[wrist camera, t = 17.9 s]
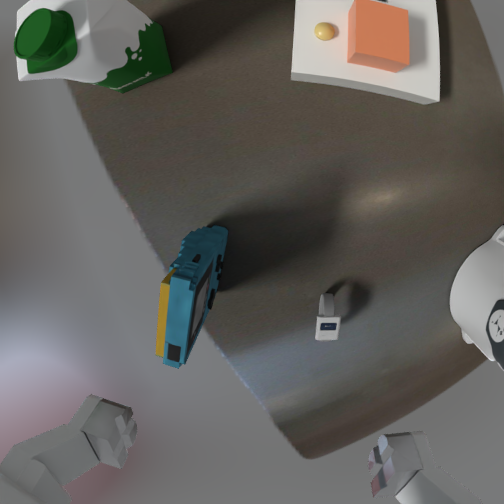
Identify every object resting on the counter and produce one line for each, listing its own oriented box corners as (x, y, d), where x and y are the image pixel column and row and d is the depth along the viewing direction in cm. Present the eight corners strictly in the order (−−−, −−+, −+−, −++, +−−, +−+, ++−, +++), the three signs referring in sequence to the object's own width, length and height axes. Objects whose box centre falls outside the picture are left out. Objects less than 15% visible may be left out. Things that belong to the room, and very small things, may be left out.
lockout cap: (395, 23, 23) (407, 10, 19) (395, 72, 25) (409, 64, 21) (348, 12, 23) (355, -3, 20) (347, 62, 25) (355, 51, 22)
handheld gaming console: (218, 297, 40) (186, 373, 26) (188, 289, 40) (144, 360, 26) (233, 226, 37) (200, 279, 23) (199, 218, 37) (148, 265, 23)
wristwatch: (332, 327, 40) (336, 349, 35) (312, 327, 40) (314, 350, 35) (336, 286, 38) (343, 305, 33) (315, 286, 38) (318, 305, 33)
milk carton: (118, 102, 33) (-5, 90, 14) (107, 44, 30) (-4, 5, 11) (182, 76, 31) (81, 25, 12) (167, 16, 28) (77, -58, 10)
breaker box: (420, -16, 23) (433, -30, 18) (424, 104, 29) (441, 100, 25) (297, -42, 24) (298, -60, 20) (290, 80, 30) (291, 70, 26)
